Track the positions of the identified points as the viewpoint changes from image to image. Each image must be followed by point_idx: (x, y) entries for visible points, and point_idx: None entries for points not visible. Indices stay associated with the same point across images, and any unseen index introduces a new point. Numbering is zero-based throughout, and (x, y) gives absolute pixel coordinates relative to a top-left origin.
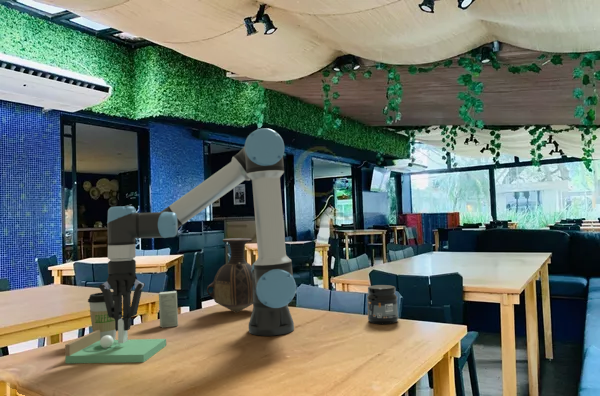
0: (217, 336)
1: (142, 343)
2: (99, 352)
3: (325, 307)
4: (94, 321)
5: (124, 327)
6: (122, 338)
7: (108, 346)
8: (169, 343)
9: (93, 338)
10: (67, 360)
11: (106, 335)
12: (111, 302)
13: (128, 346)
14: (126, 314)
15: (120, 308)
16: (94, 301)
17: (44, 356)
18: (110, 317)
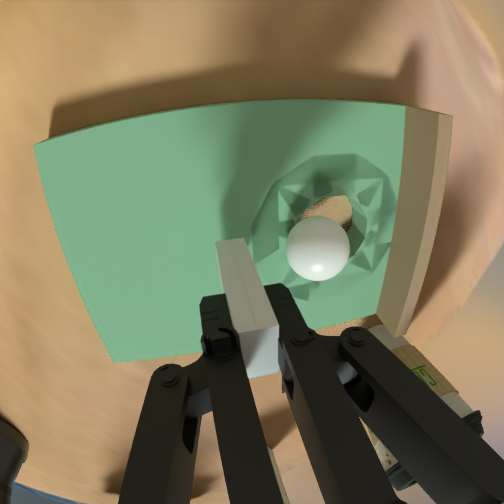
0: (45, 409)
1: (165, 305)
2: (299, 151)
3: (37, 493)
4: (428, 367)
5: (225, 306)
6: (222, 254)
7: (294, 226)
8: (124, 362)
9: (394, 286)
10: (400, 104)
11: (331, 263)
12: (398, 436)
13: (202, 257)
14: (212, 376)
15: (301, 420)
16: (466, 420)
17: (476, 190)
18: (348, 328)
